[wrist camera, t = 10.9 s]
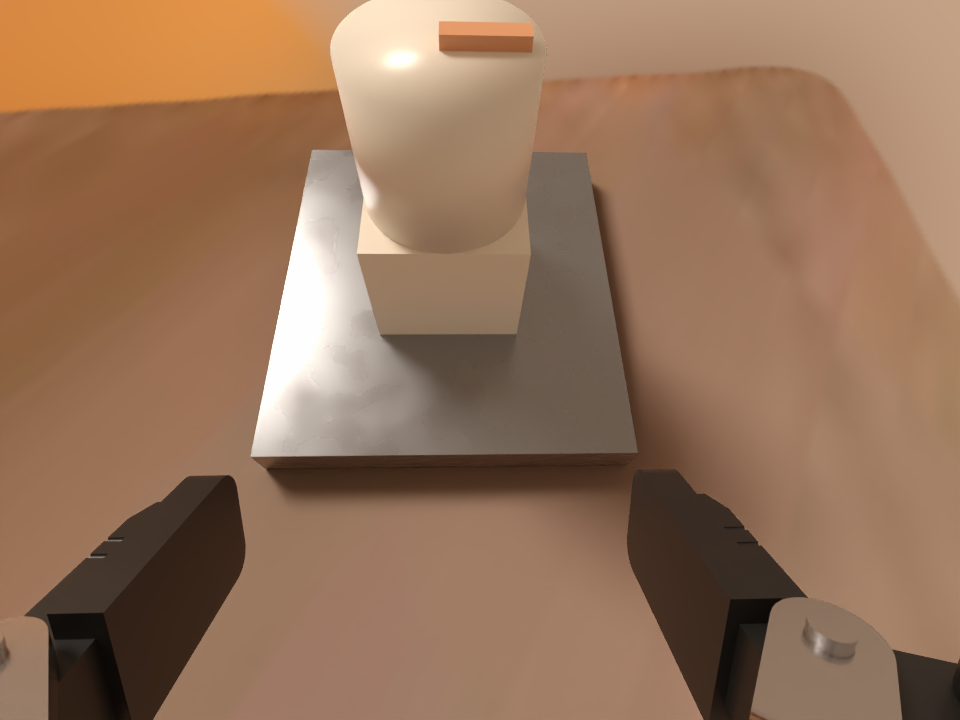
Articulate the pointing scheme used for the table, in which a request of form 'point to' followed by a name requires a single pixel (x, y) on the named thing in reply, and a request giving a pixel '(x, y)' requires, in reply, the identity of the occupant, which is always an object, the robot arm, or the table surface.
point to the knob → (442, 158)
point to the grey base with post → (446, 349)
